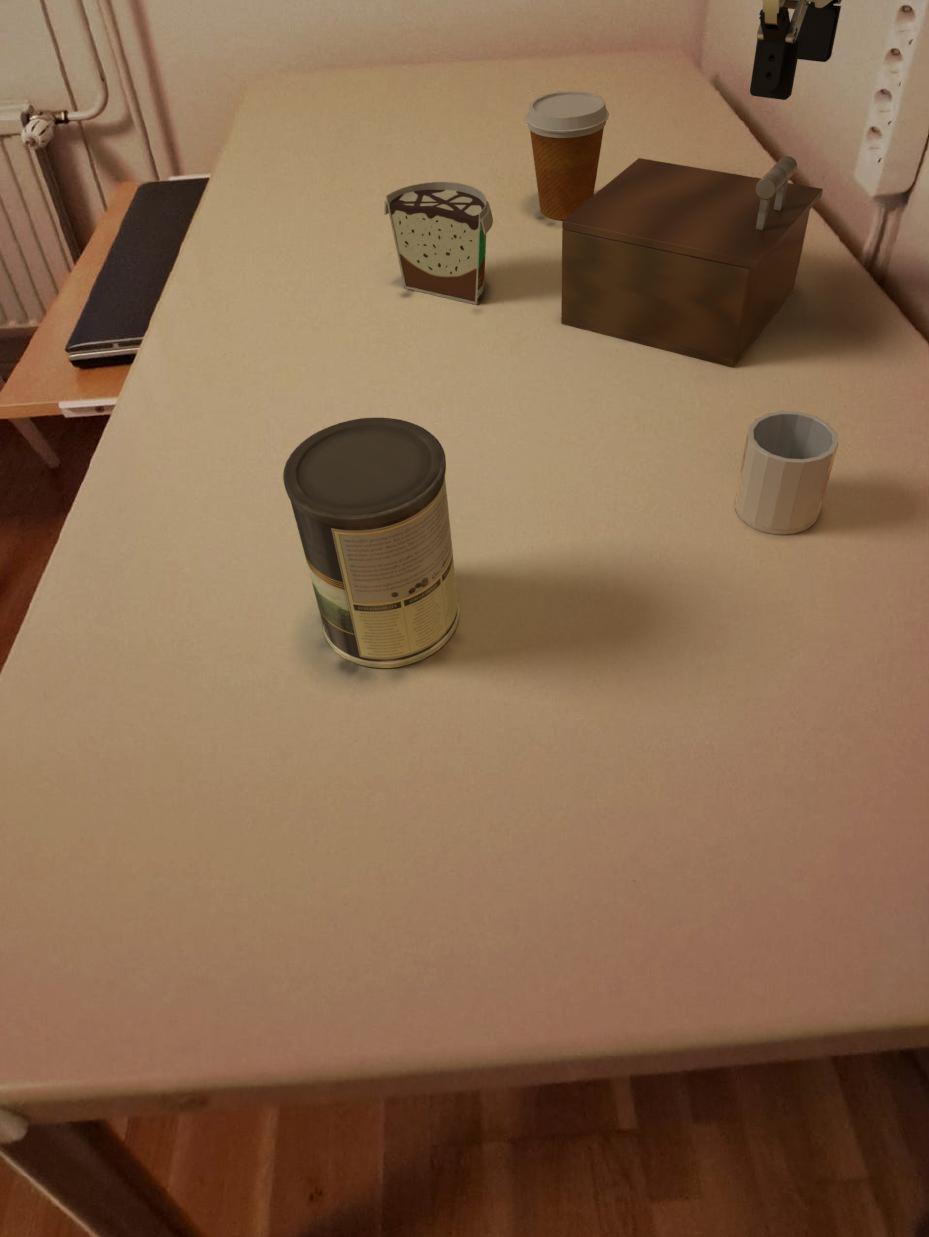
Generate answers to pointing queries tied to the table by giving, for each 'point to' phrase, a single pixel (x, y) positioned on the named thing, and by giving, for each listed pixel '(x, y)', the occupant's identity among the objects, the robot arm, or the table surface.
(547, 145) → the disposable coffee cup
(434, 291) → the food container
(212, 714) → the table surface
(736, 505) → the white cup
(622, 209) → the chest lid
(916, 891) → the table surface
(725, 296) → the storage chest
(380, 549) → the coffee can
